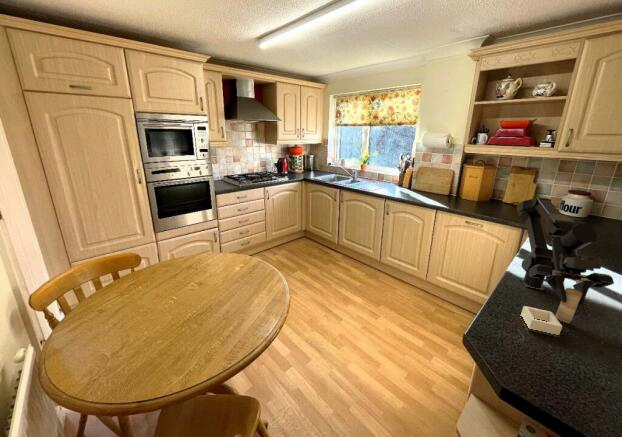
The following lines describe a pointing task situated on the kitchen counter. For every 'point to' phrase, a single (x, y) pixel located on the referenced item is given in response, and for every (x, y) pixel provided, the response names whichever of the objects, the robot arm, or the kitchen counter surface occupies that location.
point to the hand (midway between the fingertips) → (572, 303)
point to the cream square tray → (549, 326)
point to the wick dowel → (568, 305)
